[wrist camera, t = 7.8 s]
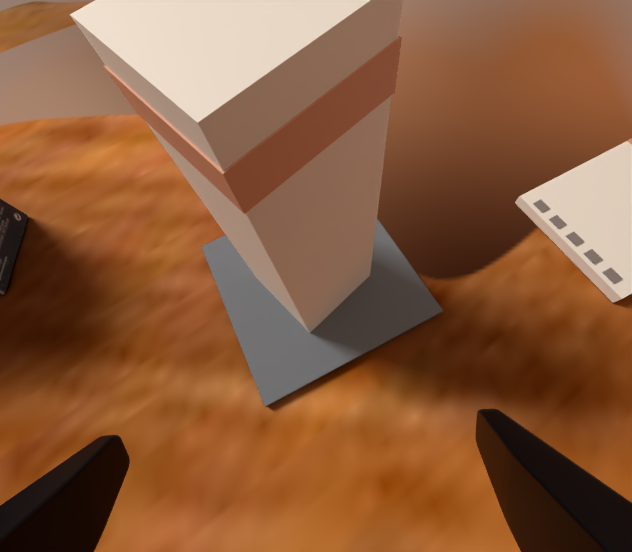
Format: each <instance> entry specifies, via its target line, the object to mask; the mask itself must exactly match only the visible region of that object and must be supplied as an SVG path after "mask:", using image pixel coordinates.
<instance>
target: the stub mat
mask: <svg viewBox="0 0 632 552" xmlns="http://www.w3.org/2000/svg"><path fill="white" fill-rule="evenodd" d="M202 249H203V252H204V254H205V257H206V259H207V262H208V265H209V267H210V270H211V272H212V275H213V277H214V280H215V282H216V285H217V287H218V290H219V292H220V295H221V297H222V300H223V302H224V305H225V307H226V310H227V313H228V315H229V318H230V320H231V323H232V325H233V328H234V330H235V333H236V335H237V338H238V340H239V343H240V345H241V348H242V350H243V353H244V355H245V358H246V360H247V363H248V366H249V368H250V371H251V373H252V376H253V378H254V381H255V383H256V386H257V388H258V391H259V393H260V396H261V398H262V401H263V403H264V406H265V407H267V406H269V405H271V404H273V403H275V402H276V401H278V400H280V399H282V398H284V397H286V396H288V395H289V394H291V393H293V392H295V391H297V390H299V389H301V388H302V387H304V386H306V385H308V384H310V383H312V382H314V381H315V380H317V379H319V378H321V377H323V376H325V375H326V374H328V373H330V372H332V371H334V370H336V369H338V368H339V367H341V366H343V365H345V364H347V363H349V362H351V361H352V360H354V359H356V358H358V357H360V356H362V355H364V354H365V353H367V352H369V351H371V350H373V349H375V348H377V347H378V346H380V345H382V344H384V343H386V342H388V341H390V340H391V339H393V338H395V337H397V336H399V335H401V334H403V333H404V332H406V331H408V330H410V329H412V328H414V327H416V326H417V325H419V324H421V323H423V322H425V321H427V320H429V319H430V318H432V317H434V316H436V315H438V314H440V313H441V312H442V311H443V310H442V308H441V307H440V305H439V304H438V303H437V301H436V300H435V298H434V297H433V296H432V294H431V293H430V291H429V290H428V289H427V287H426V286H425V284H424V283H423V282H422V280H421V279H420V277H419V276H418V275H417V273H416V272H415V270H414V269H413V268H412V266H411V265H410V263H409V262H408V261H407V259H406V258H405V257H404V255H403V254H402V252H401V251H400V250H399V248H398V247H397V246H396V244H395V243H394V241H393V240H392V238H391V237H390V236H389V234H388V233H387V232H386V230H385V229H384V227H383V226H382V224H381V223H380V222H379V220H378V219H377V220H376V229H375V237H374V246H373V254H372V262H371V271H370V276H369V277H368V278H367V279H366V280H365V281H364V282H363V283H361V284H360V285H359V286H358V287H357V288H356V289H355V290H354V291H353V292H352V293H351V294H350V295H349V296H348V297H347V298H346V299H345V300H344V301H343V302H342V303H341V304H340V305H339V306H338V307H336V308H335V309H334V310H333V311H332V312H331V313H330V314H329V315H328V316H327V317H326V318H325V319H324V320H323V321H322V322H321V323H320V324H319V325H318V326H317V327H316V328H315V329H314V330H313V331H311V332H310V333H309V332H308V331H307V330H306V329H305V328H304V327H303V326H302V325H301V323H300V322H299V321H298V320H297V319H296V318H295V317H294V316H293V315H292V314H291V313H290V312H289V311H288V310H287V309H286V308H285V307H284V306H283V305H282V304H281V303H280V302H279V301H278V300H277V299H276V298H275V297H274V295H273V294H272V293H271V292H270V291H269V290H268V289H267V288H266V287H265V286H264V285H263V284H262V283H261V282H260V281H259V280H258V279H257V278H256V277H255V275H254V274H253V272H252V271H251V270H250V268H249V267H248V265H247V264H246V263H245V261H244V260H243V258H242V257H241V255H240V254H239V253H238V251H237V250H236V248H235V247H234V246H233V244H232V243H231V241H230V240H229V239H228V237H227V236H226V235H225V236H222V237H220V238H218V239H216V240H214V241H212V242H210V243H208V244H206V245H204V246H202Z"/></svg>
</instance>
